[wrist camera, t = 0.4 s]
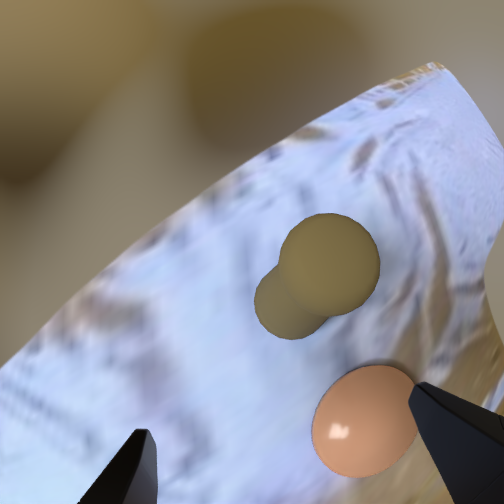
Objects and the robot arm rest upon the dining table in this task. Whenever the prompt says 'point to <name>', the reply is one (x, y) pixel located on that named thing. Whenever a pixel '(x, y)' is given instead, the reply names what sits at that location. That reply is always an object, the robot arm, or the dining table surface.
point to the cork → (317, 276)
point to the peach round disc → (364, 421)
